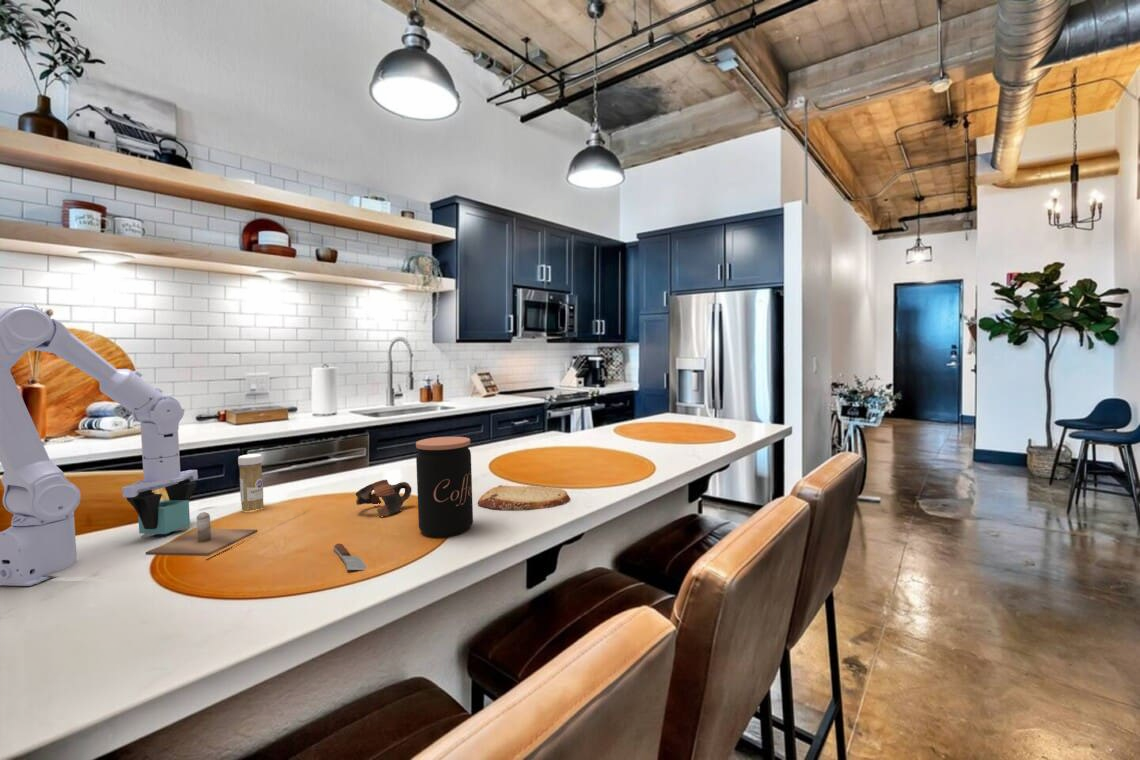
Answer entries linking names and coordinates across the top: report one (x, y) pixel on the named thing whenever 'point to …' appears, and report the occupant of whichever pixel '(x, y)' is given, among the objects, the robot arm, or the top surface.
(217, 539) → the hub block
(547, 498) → the slice of bread
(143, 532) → the teal collar
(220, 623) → the top surface
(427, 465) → the coffee jar
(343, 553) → the cleaver
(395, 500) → the pottery mug
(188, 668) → the top surface
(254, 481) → the sprinkles bottle
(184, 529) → the round base with peg
